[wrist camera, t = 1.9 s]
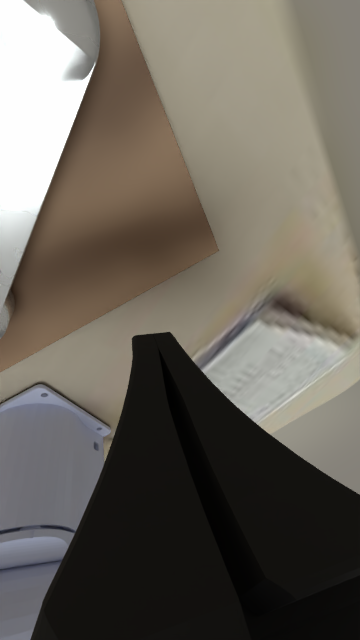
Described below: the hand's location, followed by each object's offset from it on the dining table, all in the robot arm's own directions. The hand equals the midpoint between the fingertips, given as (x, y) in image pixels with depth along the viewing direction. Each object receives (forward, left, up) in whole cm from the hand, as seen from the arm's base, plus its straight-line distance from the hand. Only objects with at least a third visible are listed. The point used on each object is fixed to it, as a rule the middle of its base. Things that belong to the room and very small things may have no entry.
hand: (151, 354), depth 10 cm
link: (+6, +3, -7) cm, 10 cm away
